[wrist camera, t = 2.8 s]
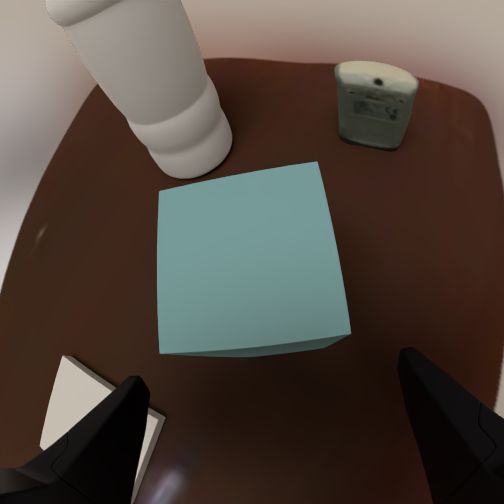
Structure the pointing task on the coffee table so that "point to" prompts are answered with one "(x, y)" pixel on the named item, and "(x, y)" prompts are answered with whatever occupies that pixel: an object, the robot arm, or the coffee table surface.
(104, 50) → the water bottle
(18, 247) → the coffee table surface
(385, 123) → the power adapter
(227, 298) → the teal block
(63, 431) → the cream tile
